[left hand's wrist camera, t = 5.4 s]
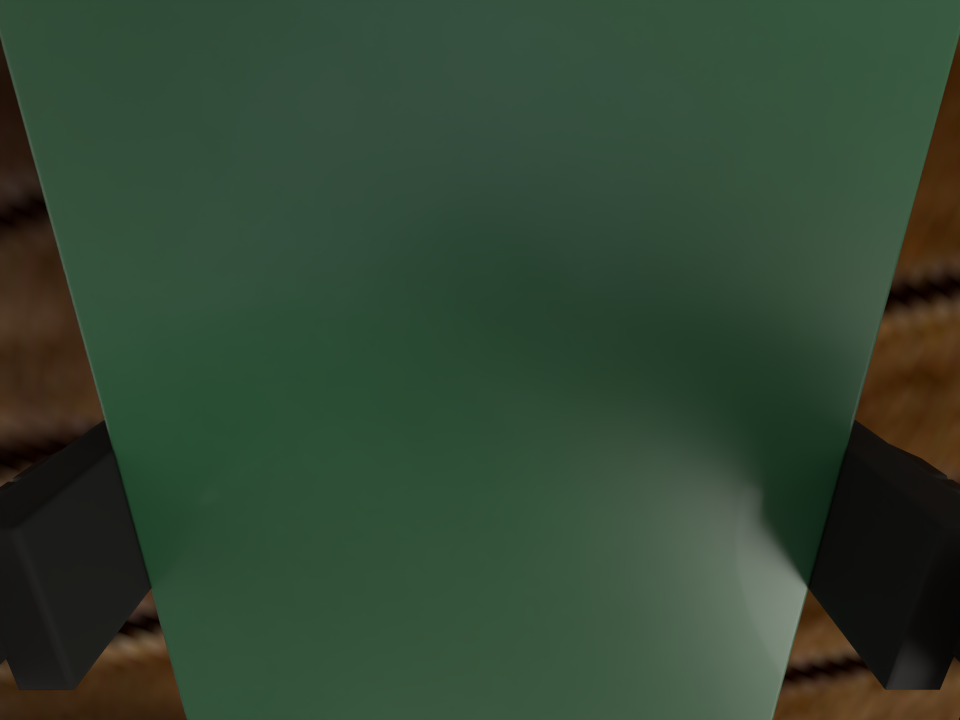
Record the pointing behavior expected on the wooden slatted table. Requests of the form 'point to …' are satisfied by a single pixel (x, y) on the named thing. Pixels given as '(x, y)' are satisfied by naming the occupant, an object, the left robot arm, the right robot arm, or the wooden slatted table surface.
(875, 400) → the wooden slatted table surface
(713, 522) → the cabinet
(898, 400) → the wooden slatted table surface
